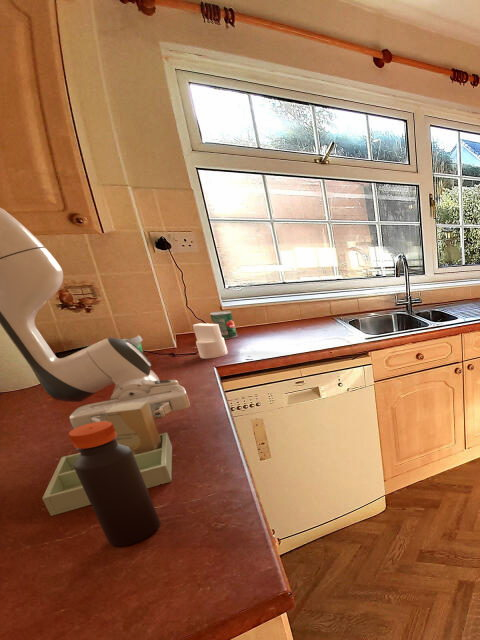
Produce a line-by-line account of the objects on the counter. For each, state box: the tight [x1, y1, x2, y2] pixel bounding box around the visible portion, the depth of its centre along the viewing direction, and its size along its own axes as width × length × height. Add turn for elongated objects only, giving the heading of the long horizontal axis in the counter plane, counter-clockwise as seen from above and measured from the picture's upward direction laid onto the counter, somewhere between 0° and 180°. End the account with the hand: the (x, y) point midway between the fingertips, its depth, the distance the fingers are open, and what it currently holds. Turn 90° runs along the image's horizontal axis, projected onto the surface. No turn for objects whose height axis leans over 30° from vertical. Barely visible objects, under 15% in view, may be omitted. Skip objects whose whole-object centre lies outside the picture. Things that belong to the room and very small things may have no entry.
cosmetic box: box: [104, 401, 162, 455], centre depth 90 cm, size 6×4×12 cm
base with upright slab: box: [192, 322, 229, 360], centre depth 162 cm, size 9×9×12 cm
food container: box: [98, 334, 144, 354], centre depth 151 cm, size 12×6×10 cm, turn 147°
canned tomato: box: [209, 310, 238, 340], centre depth 186 cm, size 8×8×11 cm
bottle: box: [68, 421, 161, 547], centre depth 68 cm, size 7×7×20 cm
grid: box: [41, 432, 173, 517], centre depth 86 cm, size 17×17×4 cm
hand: (131, 420), depth 90 cm, fingers open, 8 cm apart
